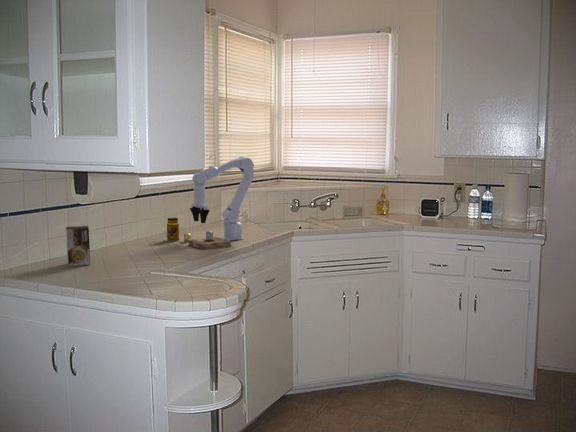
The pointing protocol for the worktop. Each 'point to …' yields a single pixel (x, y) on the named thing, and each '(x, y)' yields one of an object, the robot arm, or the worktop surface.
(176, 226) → the condiment
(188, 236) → the short stub
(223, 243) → the hole block
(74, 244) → the coffee box
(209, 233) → the grey cylinder
